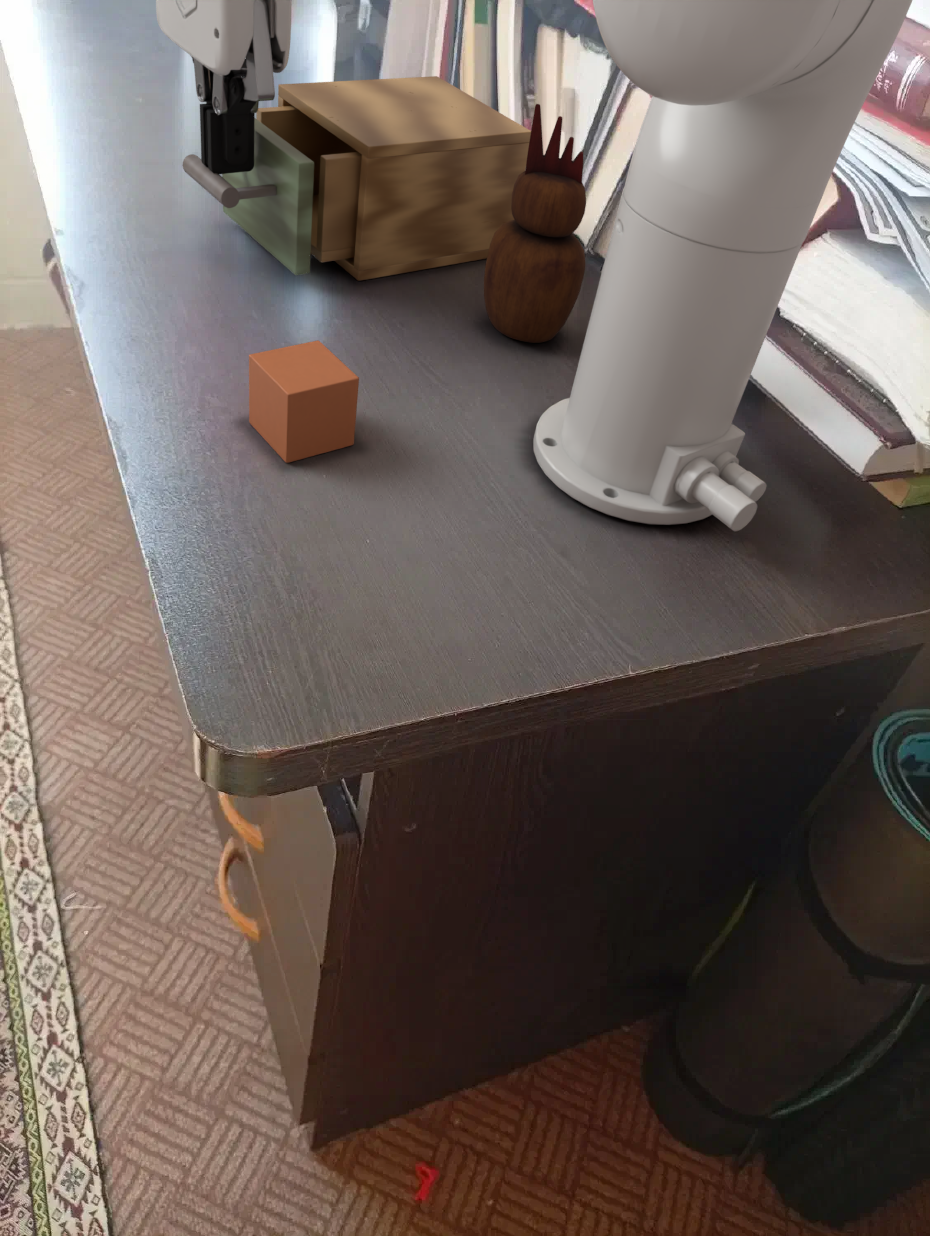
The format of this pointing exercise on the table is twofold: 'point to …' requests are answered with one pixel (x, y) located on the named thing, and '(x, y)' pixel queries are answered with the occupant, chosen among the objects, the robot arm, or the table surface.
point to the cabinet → (419, 168)
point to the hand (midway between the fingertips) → (227, 167)
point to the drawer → (292, 189)
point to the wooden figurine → (538, 244)
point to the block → (302, 400)
